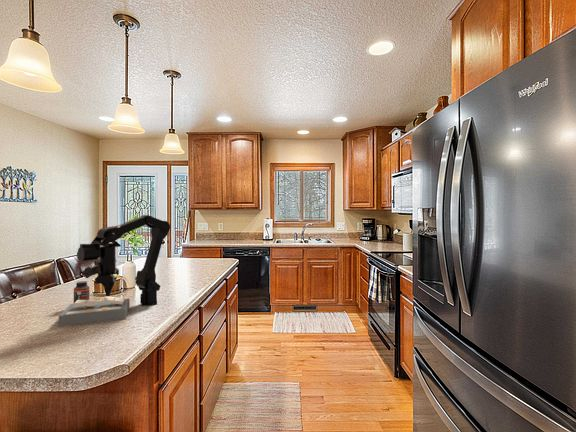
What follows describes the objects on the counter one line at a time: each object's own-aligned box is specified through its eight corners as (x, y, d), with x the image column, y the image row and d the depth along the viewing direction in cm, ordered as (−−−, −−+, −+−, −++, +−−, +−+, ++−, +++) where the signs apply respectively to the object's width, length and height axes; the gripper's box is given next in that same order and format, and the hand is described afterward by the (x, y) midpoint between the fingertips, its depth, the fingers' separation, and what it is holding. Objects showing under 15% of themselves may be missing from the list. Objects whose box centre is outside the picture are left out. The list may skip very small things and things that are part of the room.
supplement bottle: (81, 309, 134) (81, 283, 134) (70, 308, 135) (70, 283, 135) (92, 305, 140) (92, 280, 140) (81, 304, 141) (81, 280, 141)
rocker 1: (97, 302, 127) (97, 299, 127) (94, 306, 123) (94, 303, 123) (77, 302, 125) (77, 299, 125) (73, 306, 120) (74, 303, 120)
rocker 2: (123, 301, 131) (124, 298, 131) (122, 304, 126) (123, 301, 126) (105, 298, 128) (106, 295, 128) (103, 302, 124) (104, 299, 124)
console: (129, 307, 137) (129, 296, 137) (125, 318, 122) (125, 306, 122) (70, 313, 128) (70, 301, 128) (58, 326, 114) (58, 313, 114)
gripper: (89, 256, 132) (90, 292, 132) (78, 263, 115) (79, 304, 115) (119, 255, 136) (119, 290, 136) (112, 261, 119) (113, 301, 119)
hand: (108, 296), depth 127 cm, fingers closed
